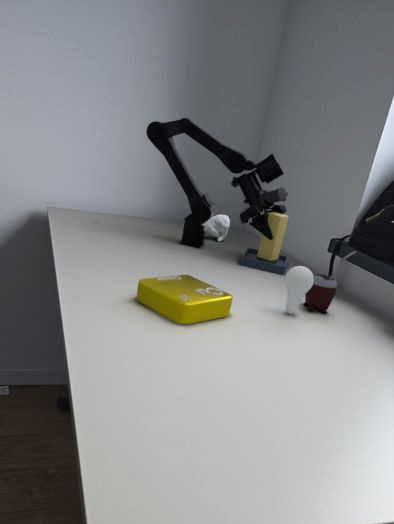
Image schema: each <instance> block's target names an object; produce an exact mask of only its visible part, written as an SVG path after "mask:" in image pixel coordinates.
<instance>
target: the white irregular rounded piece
mask: <svg viewBox="0 0 394 524" xmlns="http://www.w3.org/2000/svg"><path fill="white" fill-rule="evenodd" d="M203 225H204V226H205V231H206V234H208V235H212V236H214V237H216V238H217V240H216V241H217V242H222V241H223V240H224V239H225V238H226V237H227V234H228V231H229V229H230V226H231V220H230V217H229V215H227V214H216V215H213V216H212V217H211V218H210V219H209V220H208V221H207V222H205V223H204V224H203Z"/></svg>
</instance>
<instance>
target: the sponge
mask: <svg viewBox="0 0 394 524" xmlns="http://www.w3.org/2000/svg"><path fill="white" fill-rule="evenodd" d="M289 218H290V216H289V215H286V214H279V213H276V212H270V213H269V215H268V224H269V226H270V229H271V232H272V235H273V239H272V240H269V239H268V238H267V237H265V236H264V235H263V234H262V233H261V237H260V241H259V246H258V249H257V250H258V254H257V258H256V259H257V260H260V261H263V262H267V263H276V262H277V261H278V257H279V255H280V253H281V249H282V245H283V241H284V237H285V233H286V230H287V226H288V222H289Z"/></svg>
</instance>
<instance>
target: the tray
mask: <svg viewBox="0 0 394 524" xmlns="http://www.w3.org/2000/svg"><path fill="white" fill-rule="evenodd" d="M257 254H258V249H257V248H253V247H246V249H245V250H244V252H243V254H242V255H241V257H240V261H239V266H245V267H249V268H251V269H252V268H253V269H257V270H262V271H265V272H269V273H275V274H279V275H284V276H285V273H286V270H287V264H288V260H289V256H288V255H283V254H279V257H278V261H277V262H276V263H267V262H263V261H260V260H257V259H256V258H257Z"/></svg>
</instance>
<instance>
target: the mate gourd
mask: <svg viewBox="0 0 394 524" xmlns="http://www.w3.org/2000/svg"><path fill="white" fill-rule="evenodd" d="M356 253H357V251H356V250H355V251H352V252H350V253H348V254H347V255H345V256H344V257H343V258H341V259H340V261H339V263H338V265H337V267H336V268H335V270H334V271H333V273H332V274H331V275H329V274H323V273H312V274H313V277H314V282H313V285H312V287H311V288H310V290H309V291H308V292H307V293H306V294H305V295H304V297H305V299H304V302H303V306H304V307H307V308H306V311H307V312H313V311H316V312H319V313H321V314H324V315H327V313H328V309H329V307H330V306H331V304H332V301H333V300H334V298H335V296H336V292H337V290H338V289H337V287H338V285H337V280H336V279H335V278H334V277H335V276H336V274H337V272H338V271H339V269H340V268H341V266H342V265H343V264H344V263H345V262H346V260H347V259H348V258H350V257H351V256H353V255H354V254H356Z"/></svg>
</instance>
